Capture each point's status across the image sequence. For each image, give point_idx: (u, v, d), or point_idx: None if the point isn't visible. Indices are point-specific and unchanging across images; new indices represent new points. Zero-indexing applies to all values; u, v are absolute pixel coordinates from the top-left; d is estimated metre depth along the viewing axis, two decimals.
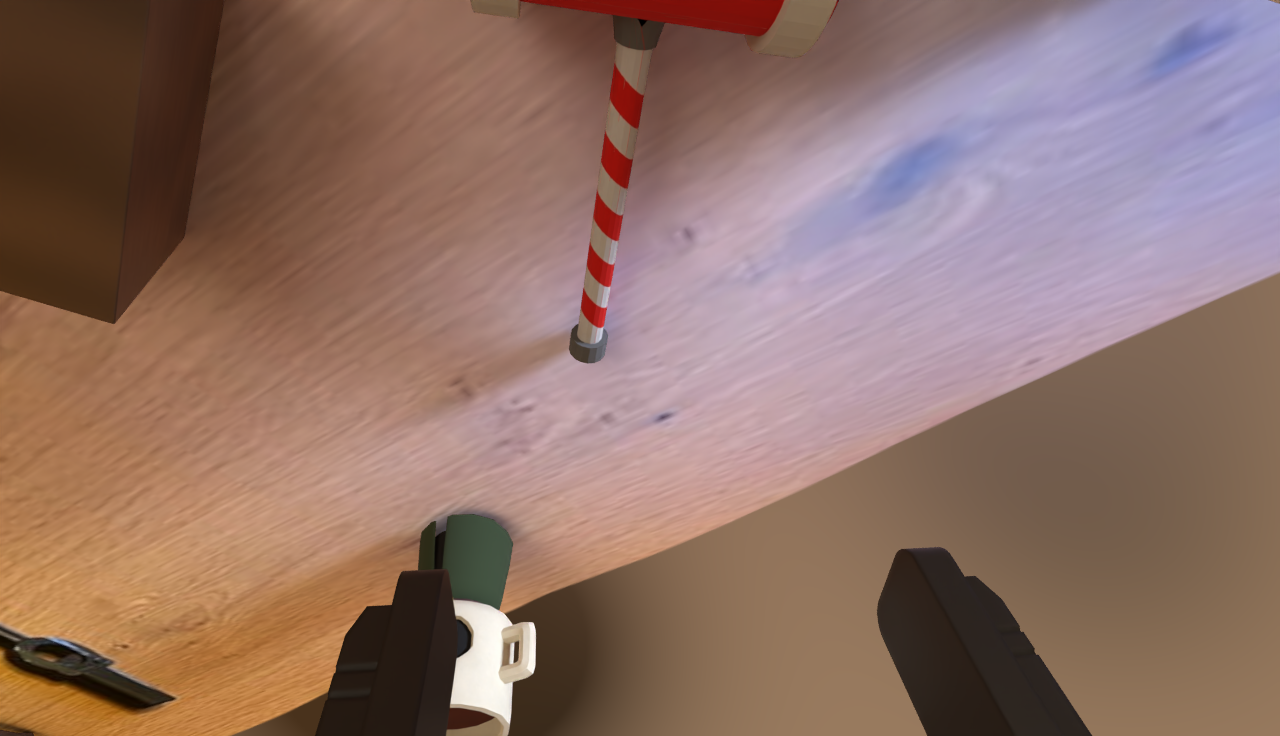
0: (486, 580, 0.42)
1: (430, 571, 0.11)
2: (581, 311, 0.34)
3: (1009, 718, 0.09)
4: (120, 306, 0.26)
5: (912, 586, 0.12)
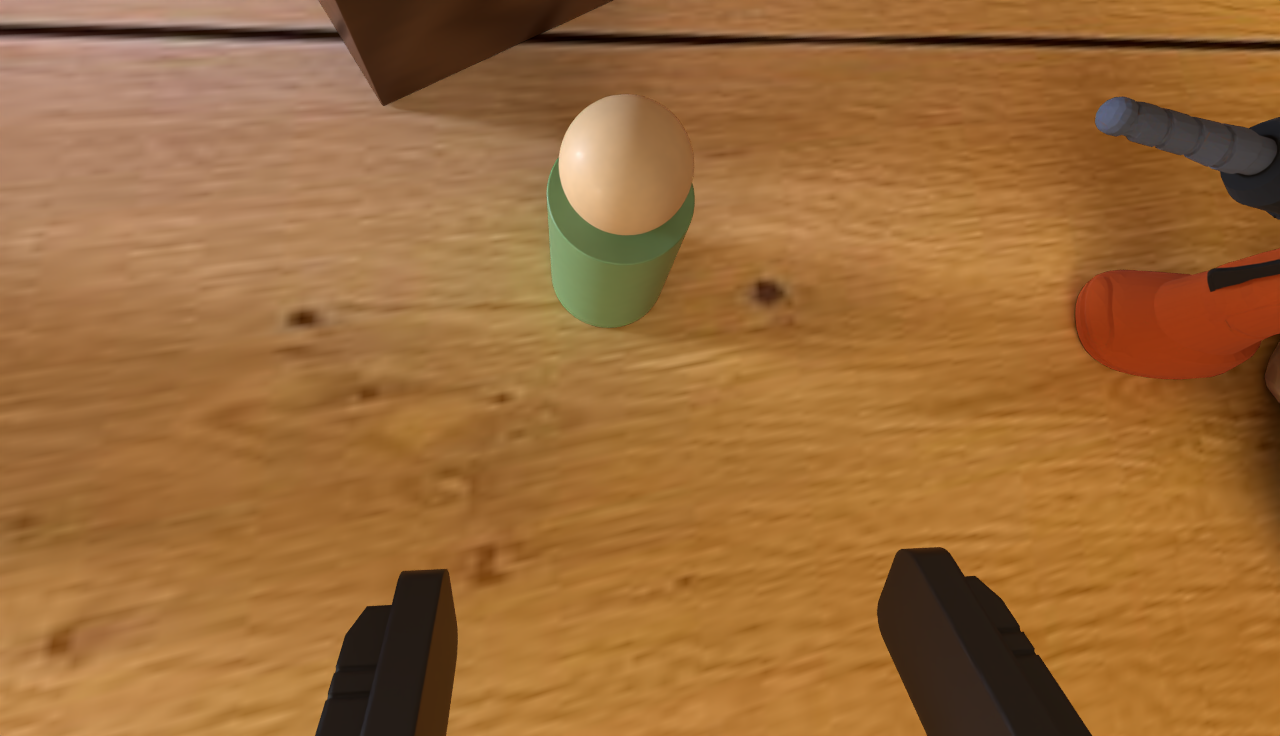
0: None
1: (431, 571, 0.11)
2: None
3: (1009, 718, 0.09)
4: None
5: (912, 586, 0.12)
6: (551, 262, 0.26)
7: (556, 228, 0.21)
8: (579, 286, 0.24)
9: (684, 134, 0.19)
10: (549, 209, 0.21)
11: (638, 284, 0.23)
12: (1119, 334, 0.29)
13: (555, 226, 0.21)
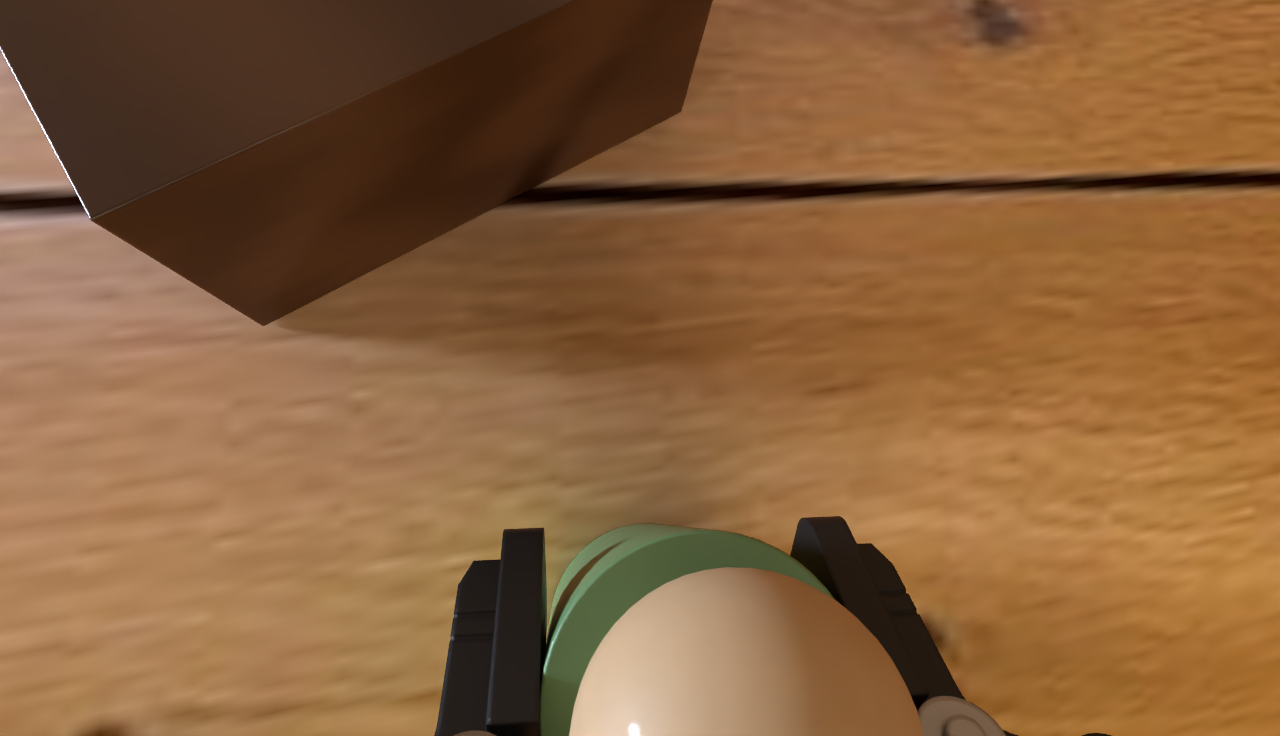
0: None
1: (530, 529, 0.12)
2: None
3: None
4: None
5: (809, 552, 0.12)
6: None
7: None
8: None
9: (917, 733, 0.07)
10: None
11: None
12: None
13: None
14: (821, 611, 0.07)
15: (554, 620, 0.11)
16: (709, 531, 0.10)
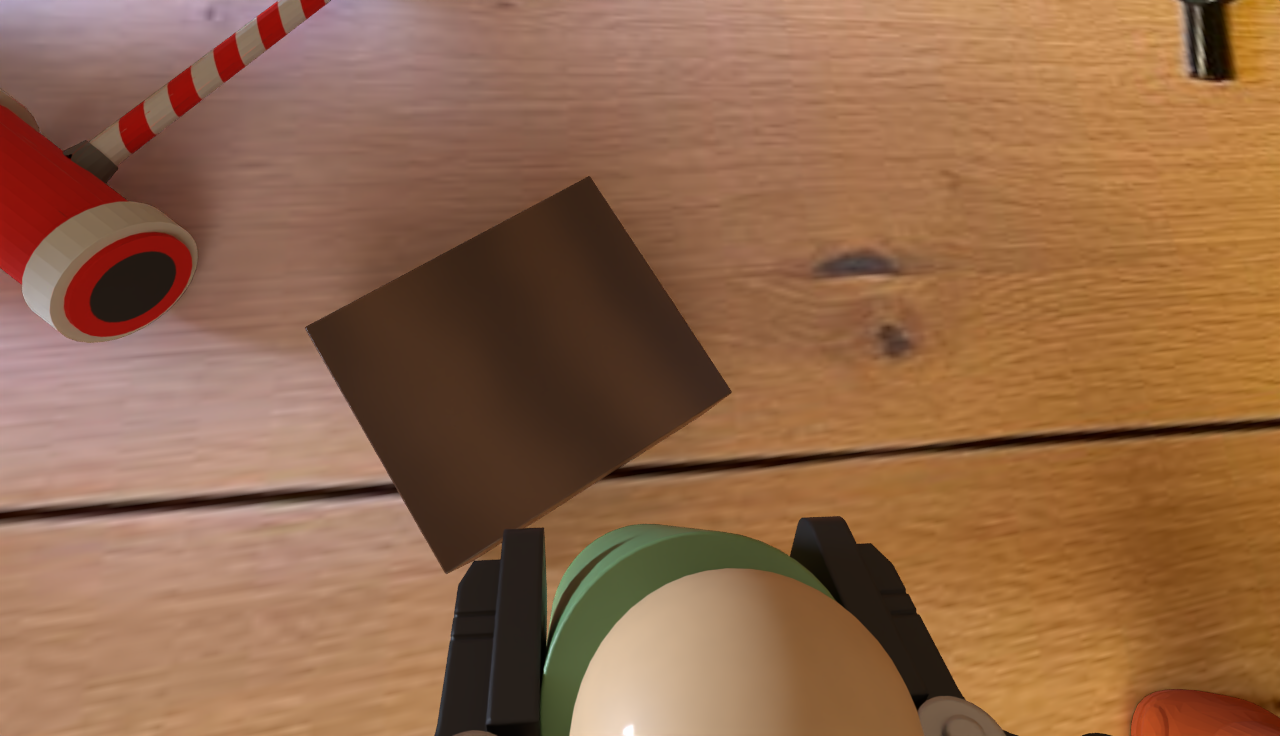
0: None
1: (530, 529, 0.12)
2: None
3: None
4: None
5: (809, 552, 0.12)
6: None
7: None
8: None
9: (918, 735, 0.07)
10: None
11: None
12: None
13: None
14: (821, 612, 0.07)
15: (554, 621, 0.11)
16: (709, 532, 0.10)
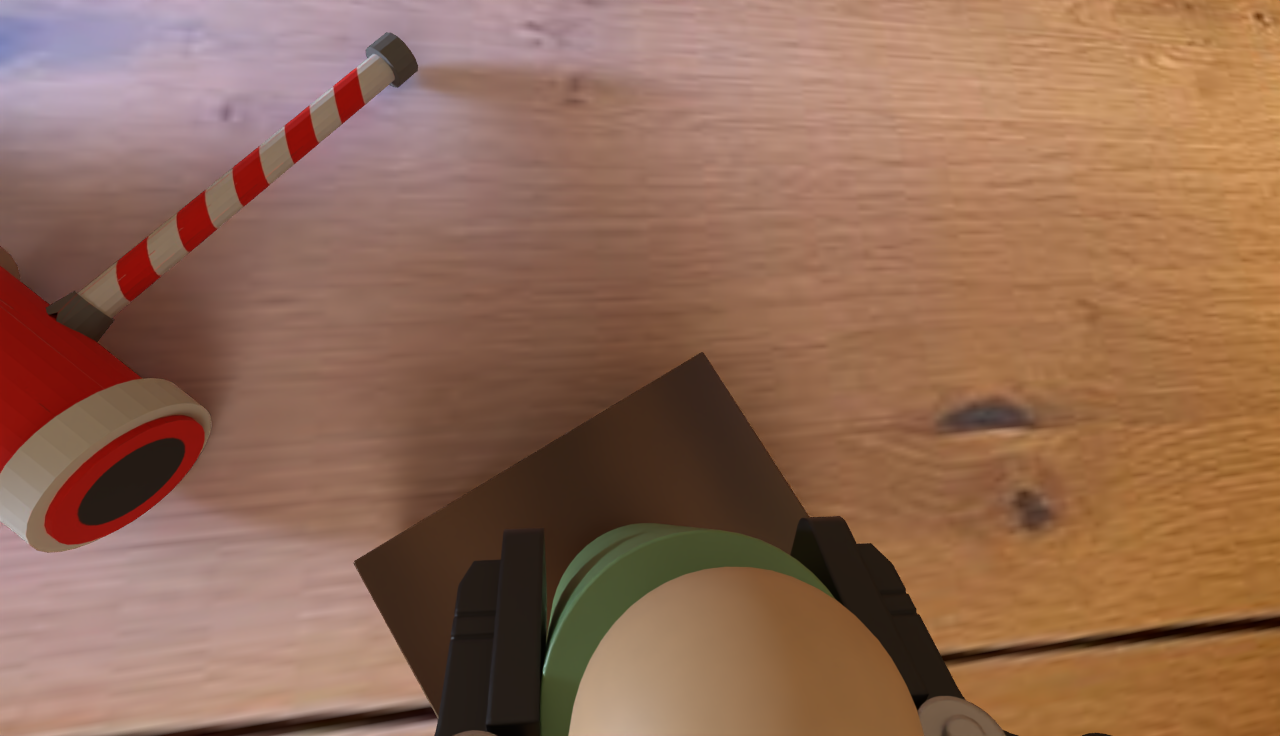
0: None
1: (531, 529, 0.12)
2: (364, 97, 0.29)
3: None
4: None
5: (809, 552, 0.12)
6: None
7: None
8: None
9: (917, 732, 0.07)
10: None
11: None
12: None
13: None
14: (821, 610, 0.07)
15: (554, 620, 0.11)
16: (709, 530, 0.10)
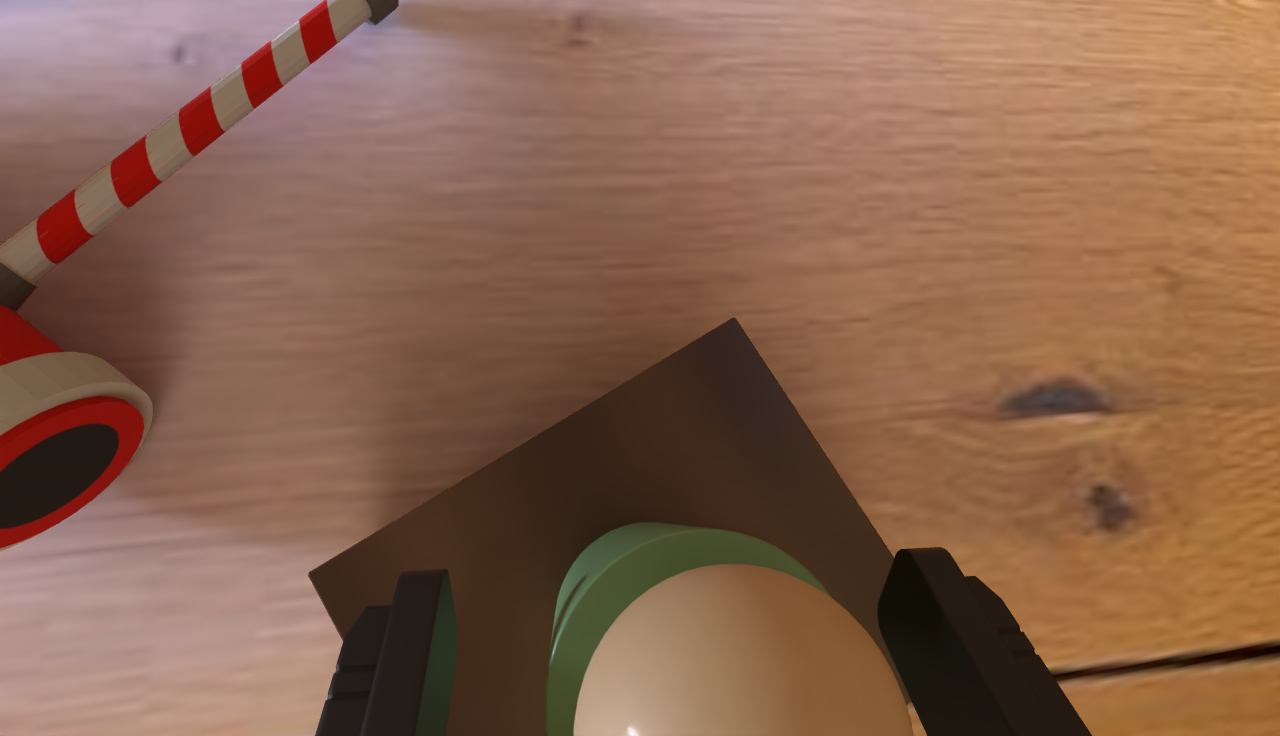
0: None
1: (431, 571, 0.11)
2: (336, 33, 0.25)
3: (1009, 718, 0.09)
4: None
5: (912, 586, 0.12)
6: None
7: None
8: None
9: (904, 720, 0.07)
10: None
11: None
12: None
13: None
14: (813, 605, 0.08)
15: (559, 616, 0.12)
16: (708, 529, 0.10)
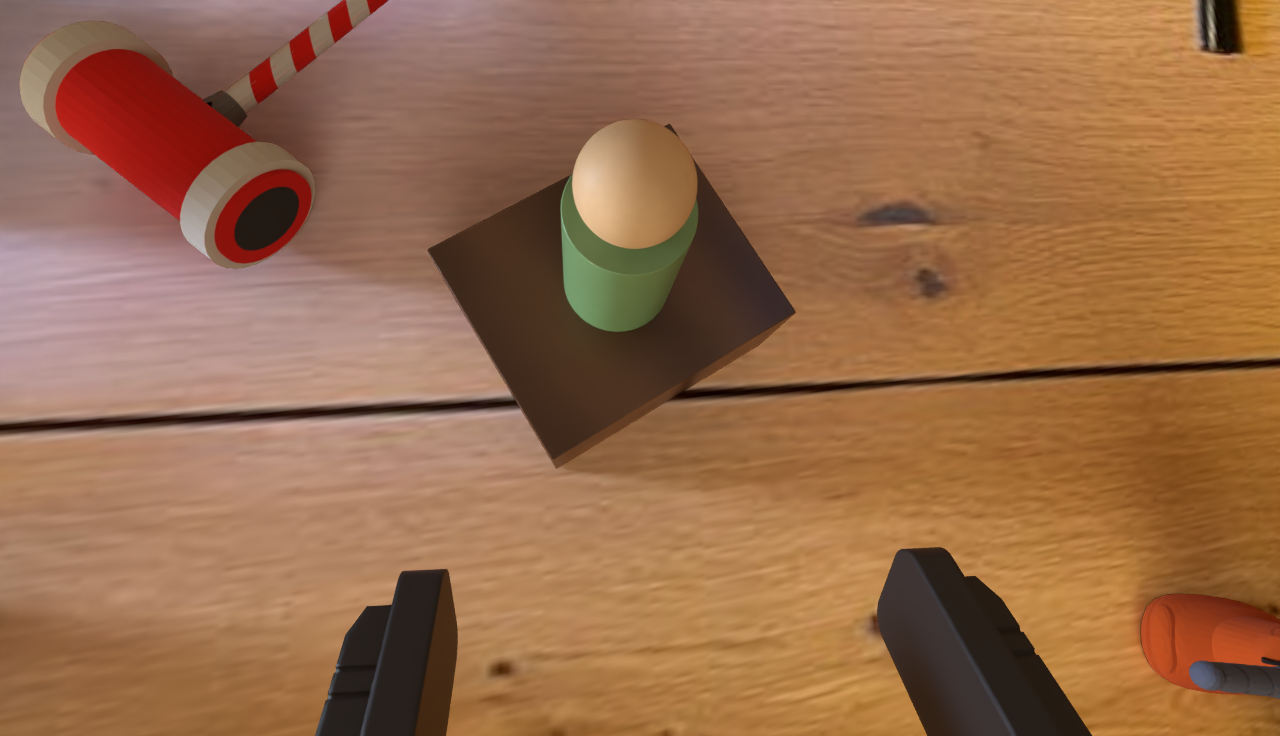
0: None
1: (431, 571, 0.11)
2: None
3: (1009, 718, 0.09)
4: None
5: (912, 586, 0.12)
6: (564, 271, 0.28)
7: (569, 241, 0.23)
8: (590, 294, 0.26)
9: (688, 156, 0.21)
10: (563, 224, 0.23)
11: (645, 292, 0.25)
12: (1181, 665, 0.35)
13: (568, 240, 0.23)
14: (659, 124, 0.21)
15: None
16: None
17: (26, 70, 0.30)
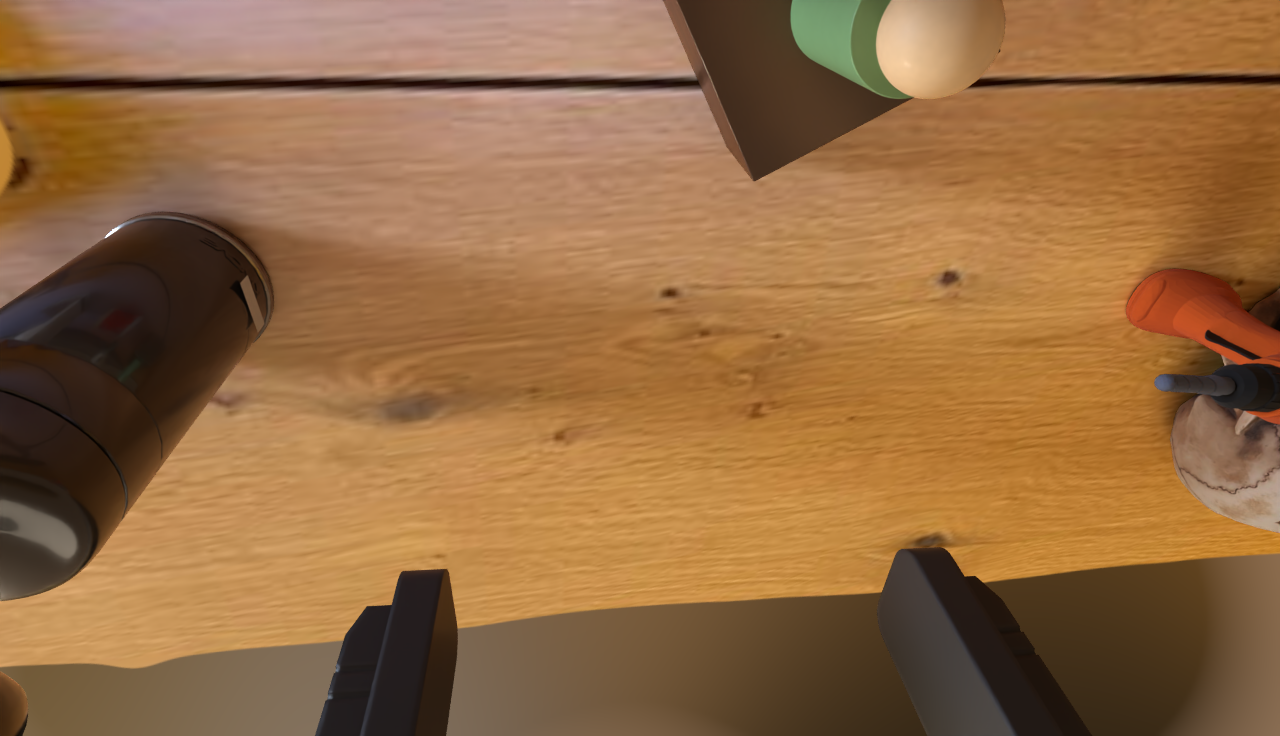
0: None
1: (430, 571, 0.11)
2: None
3: (1009, 718, 0.09)
4: None
5: (912, 586, 0.12)
6: (807, 23, 0.28)
7: (851, 60, 0.25)
8: (836, 71, 0.28)
9: (1004, 29, 0.22)
10: (849, 41, 0.24)
11: None
12: (1148, 318, 0.48)
13: (850, 59, 0.25)
14: None
15: None
16: None
17: None
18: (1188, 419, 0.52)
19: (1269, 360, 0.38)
